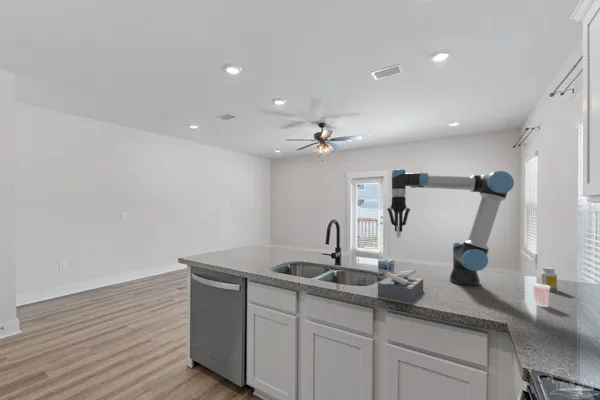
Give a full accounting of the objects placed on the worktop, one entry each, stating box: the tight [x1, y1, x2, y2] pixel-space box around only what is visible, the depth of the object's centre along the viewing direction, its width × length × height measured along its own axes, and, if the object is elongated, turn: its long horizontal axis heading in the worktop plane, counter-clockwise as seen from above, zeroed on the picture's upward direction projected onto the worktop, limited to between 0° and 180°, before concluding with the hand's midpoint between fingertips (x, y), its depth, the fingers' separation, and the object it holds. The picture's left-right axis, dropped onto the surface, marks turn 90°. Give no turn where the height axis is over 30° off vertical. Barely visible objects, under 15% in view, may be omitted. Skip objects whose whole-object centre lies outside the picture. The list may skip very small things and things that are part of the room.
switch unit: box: [377, 276, 424, 303], centre depth 144 cm, size 16×22×7 cm
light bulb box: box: [377, 257, 395, 280], centre depth 174 cm, size 11×7×11 cm, turn 143°
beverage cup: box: [532, 273, 550, 308], centre depth 128 cm, size 6×6×14 cm
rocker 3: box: [394, 269, 417, 275], centre depth 150 cm, size 10×4×2 cm, turn 53°
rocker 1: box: [386, 272, 408, 285], centre depth 139 cm, size 10×4×2 cm, turn 53°
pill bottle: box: [540, 266, 558, 292], centre depth 152 cm, size 6×6×12 cm
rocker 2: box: [394, 272, 413, 277], centre depth 144 cm, size 10×4×2 cm, turn 53°
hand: (398, 237), depth 162 cm, fingers closed
